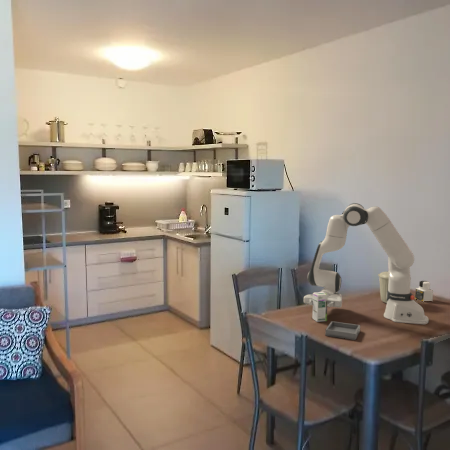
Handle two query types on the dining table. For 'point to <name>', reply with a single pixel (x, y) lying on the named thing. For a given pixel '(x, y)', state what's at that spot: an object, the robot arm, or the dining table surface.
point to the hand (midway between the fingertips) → (319, 304)
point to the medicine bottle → (424, 291)
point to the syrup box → (320, 306)
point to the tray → (342, 330)
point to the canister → (384, 285)
